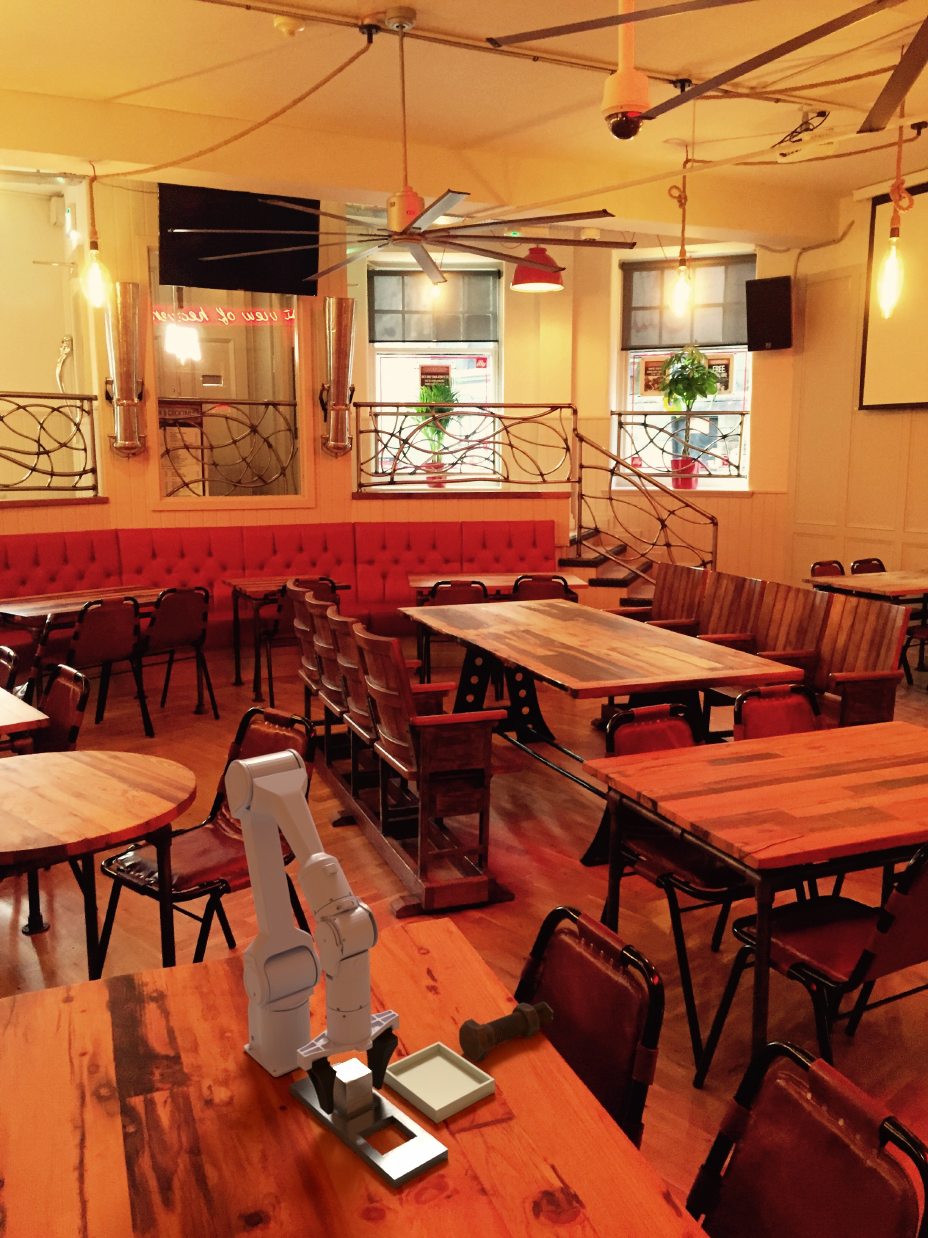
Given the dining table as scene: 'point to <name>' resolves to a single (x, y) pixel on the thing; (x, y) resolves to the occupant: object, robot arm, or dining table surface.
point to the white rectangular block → (352, 1090)
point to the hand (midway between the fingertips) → (351, 1098)
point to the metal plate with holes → (393, 1164)
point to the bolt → (503, 1029)
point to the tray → (438, 1081)
